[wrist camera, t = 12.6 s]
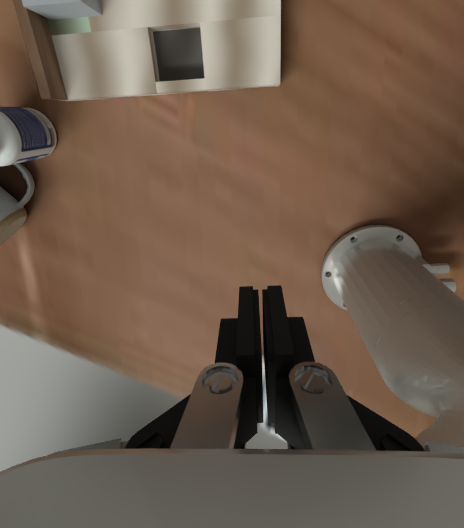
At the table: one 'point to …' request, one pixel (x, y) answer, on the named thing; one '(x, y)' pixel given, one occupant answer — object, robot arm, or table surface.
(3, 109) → the pill bottle
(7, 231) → the ceramic mug
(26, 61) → the table surface
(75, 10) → the block
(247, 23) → the board
